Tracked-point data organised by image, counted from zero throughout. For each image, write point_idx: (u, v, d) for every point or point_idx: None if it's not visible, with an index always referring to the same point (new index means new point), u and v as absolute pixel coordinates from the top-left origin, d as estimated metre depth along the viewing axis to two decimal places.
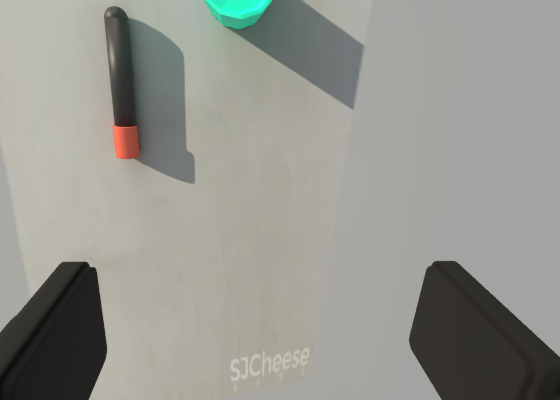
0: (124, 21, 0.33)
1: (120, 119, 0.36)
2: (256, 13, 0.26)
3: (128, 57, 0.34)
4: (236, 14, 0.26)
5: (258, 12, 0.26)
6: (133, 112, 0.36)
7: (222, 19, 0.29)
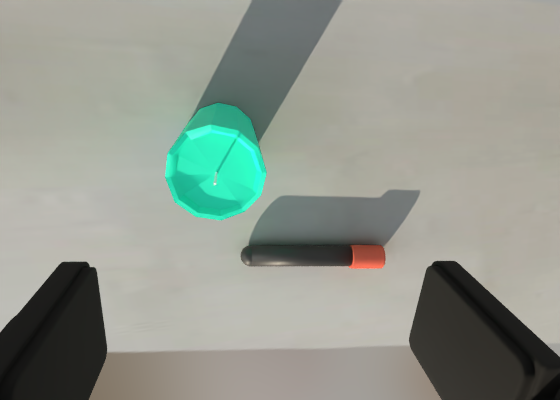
0: (254, 250, 0.34)
1: (345, 262, 0.35)
2: (259, 154, 0.21)
3: (286, 249, 0.34)
4: (261, 178, 0.22)
5: (258, 151, 0.21)
6: (338, 248, 0.35)
7: None
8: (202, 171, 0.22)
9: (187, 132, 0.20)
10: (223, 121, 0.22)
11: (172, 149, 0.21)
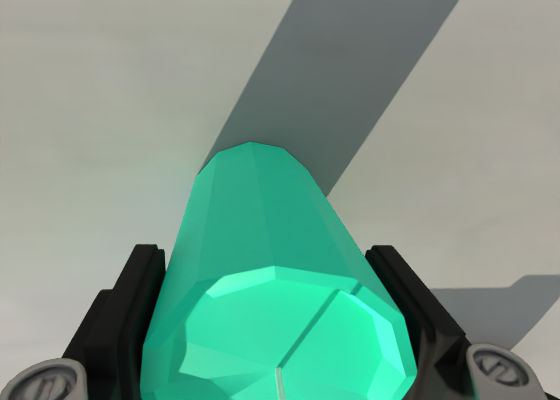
0: None
1: None
2: (403, 330, 0.08)
3: None
4: (401, 386, 0.08)
5: (401, 325, 0.07)
6: None
7: None
8: (242, 367, 0.08)
9: (202, 283, 0.07)
10: (294, 227, 0.08)
11: (157, 333, 0.07)
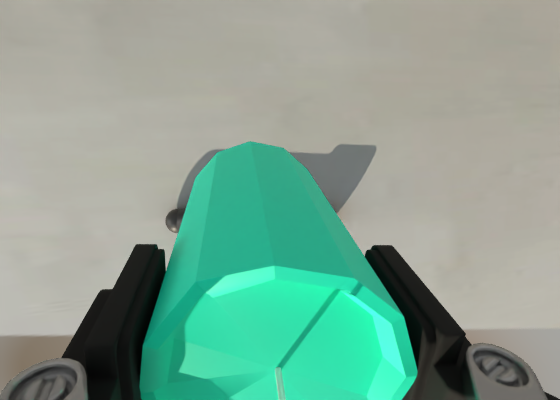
0: (179, 213, 0.29)
1: None
2: (403, 330, 0.07)
3: None
4: (401, 387, 0.08)
5: (401, 325, 0.07)
6: None
7: None
8: (242, 367, 0.08)
9: (201, 283, 0.07)
10: (294, 227, 0.08)
11: (157, 333, 0.07)
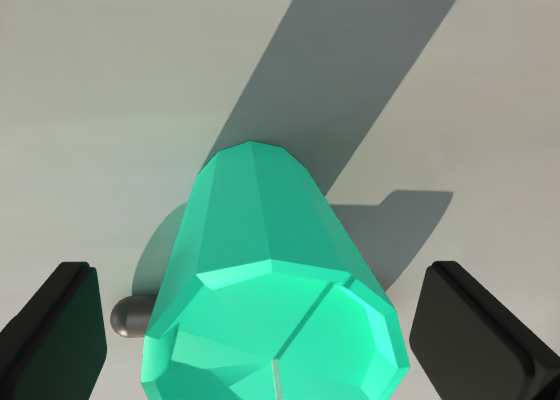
0: (132, 308, 0.17)
1: None
2: (395, 323, 0.08)
3: None
4: (393, 378, 0.08)
5: (394, 318, 0.08)
6: None
7: None
8: (240, 358, 0.08)
9: (201, 275, 0.07)
10: (291, 223, 0.09)
11: (158, 323, 0.07)
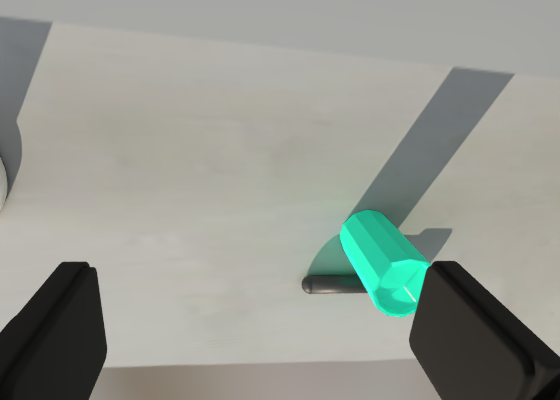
0: (313, 280, 0.40)
1: None
2: None
3: (340, 279, 0.41)
4: None
5: None
6: None
7: None
8: (396, 285, 0.31)
9: (392, 263, 0.30)
10: (407, 249, 0.31)
11: (381, 274, 0.30)
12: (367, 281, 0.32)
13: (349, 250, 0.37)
